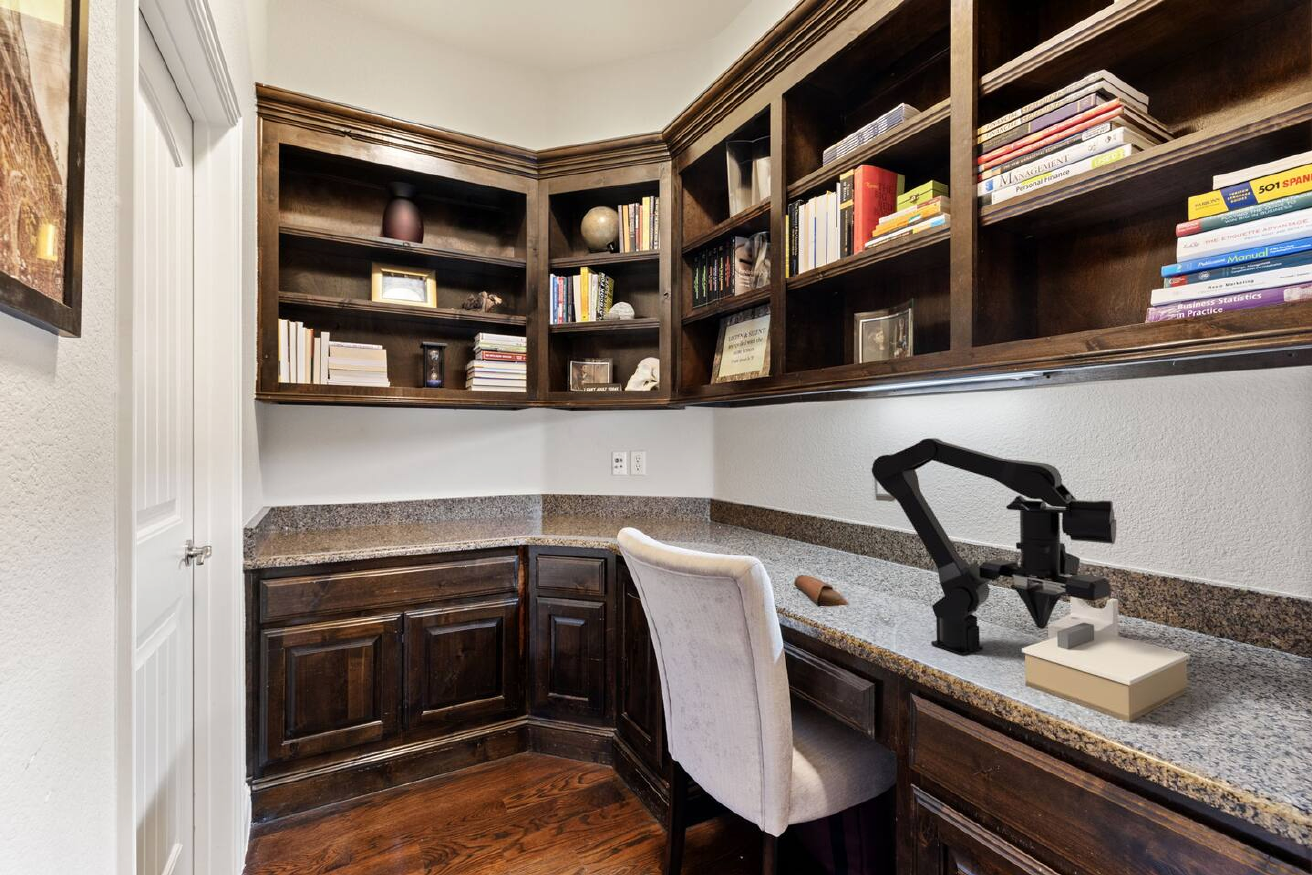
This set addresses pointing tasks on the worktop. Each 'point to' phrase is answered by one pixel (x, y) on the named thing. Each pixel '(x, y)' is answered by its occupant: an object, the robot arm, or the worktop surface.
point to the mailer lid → (1106, 654)
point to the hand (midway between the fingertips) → (1041, 628)
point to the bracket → (1088, 617)
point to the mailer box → (1106, 688)
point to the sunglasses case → (819, 591)
